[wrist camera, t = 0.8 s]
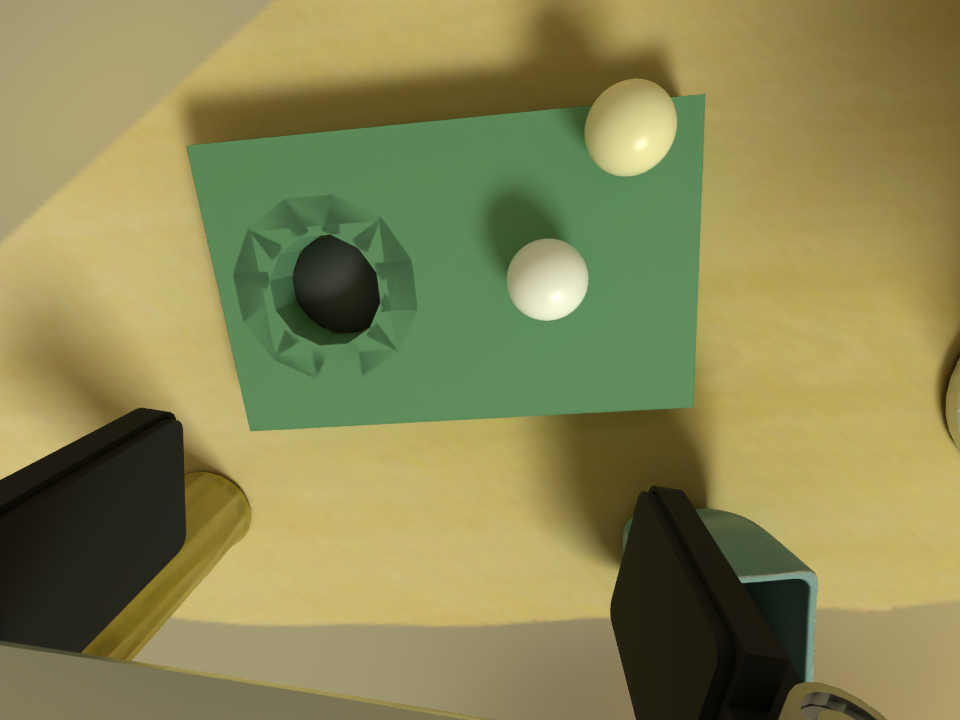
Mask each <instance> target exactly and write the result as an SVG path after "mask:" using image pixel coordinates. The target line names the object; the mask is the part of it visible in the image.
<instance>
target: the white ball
mask: <svg viewBox="0 0 960 720" xmlns="http://www.w3.org/2000/svg"><path fill="white" fill-rule="evenodd" d="M588 279H589V277H588V270H587V266H586V263H585V261H584V259H583V257H582V256H581V255H580V253H579V252H578V251H577V250H576V249H575V248H574V247H572V246H571V245H570V244H568V243H566V242H564V241H561V240H557V239H539V240H536V241H533V242H531V243H529V244H527V245H525V246H524V247H523V248H522V249H520V250H519V251H518V252H517V253H516V255H515V256H514V257H513V259H512V261H511V263H510V265H509V268H508V272H507V289H508V293H509V295H510V298H511V300H512V301H513V303H514V304H515V306H516V307H517V308H518V309H519V310H520V311H521V312H522V313H524V314H525V315H527V316H529V317H531V318H534V319H537V320H544V321H550V320H556V319H560V318H562V317H565V316H567V315H568V314H570V313H571V312H573V311H574V310H575V309H576V308H577V307H578V306H579V304H580V303H581V302H582V300H583V298H584V296H585V294H586V291H587V288H588Z"/></svg>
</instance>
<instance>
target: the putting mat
mask: <svg viewBox="0 0 960 720" xmlns="http://www.w3.org/2000/svg"><path fill="white" fill-rule="evenodd" d="M670 98H671V99H672V101H673V104H674V106H675V110H676V115H677V130H676V135H675V138H674V141H673V143H672V145H671V148H670V149H669V151H668V152H667V154H666V155H665V157H664V158H663V159H662V160H661V161H660V162H659V163H658V164H657V165H655V166H654V167H653V168H651V169H649V170H648V171H646V172H644V173H641V174H638V175H635V176H616V175H612V174H610V173H607V172H606V171H604V170H602V169H601V168H600V167H599V166H597V164H596V163H595V162H594V161H593V160H592V158H591V157H590V155H589V153H588V150H587V147H586V143H585V135H584V134H585V124H586V120H587V116H588V114H589V111H590V109H591V107H592V105H590V106H580V107H570V108H560V109H550V110H540V111H530V112H520V113H510V114H500V115H490V116H480V117H470V118H460V119H450V120H440V121H430V122H420V123H410V124H400V125H389V126H379V127H369V128H359V129H349V130H339V131H329V132H319V133H309V134H299V135H289V136H279V137H269V138H259V139H249V140H239V141H229V142H219V143H209V144H199V145H189V146H186V147H187V151H188V156H189V160H190V165H191V169H192V174H193V178H194V182H195V187H196V191H197V196H198V200H199V205H200V209H201V214H202V218H203V223H204V227H205V232H206V236H207V240H208V245H209V249H210V254H211V258H212V263H213V267H214V272H215V276H216V281H217V285H218V289H219V294H220V298H221V303H222V307H223V312H224V316H225V321H226V325H227V330H228V334H229V338H230V343H231V347H232V352H233V356H234V361H235V365H236V370H237V374H238V379H239V383H240V387H241V392H242V396H243V401H244V405H245V410H246V414H247V419H248V423H249V428H250V431H265V430H283V429H302V428H320V427H339V426H357V425H376V424H394V423H413V422H431V421H450V420H468V419H487V418H505V417H524V416H542V415H561V414H579V413H598V412H616V411H635V410H653V409H672V408H690V407H693V406H694V380H695V353H696V327H697V301H698V275H699V249H700V223H701V196H702V170H703V144H704V118H705V94H700V95H690V96H680V97H670ZM321 235H332V236H329V237H325V238H322V239H319V240H317V241H315V242H314V243H312V242H313V241H314V240H315V239H317V238H318V237H319V236H321ZM539 239H557V240H561V241H564V242H566V243H568V244H570V245H571V246H572V247H574V248H575V249H576V250H577V251H578V252H579V253H580V255H581V256H582V257H583V259H584V261H585V263H586V266H587V270H588V277H589V279H588V288H587V291H586V294H585V296H584V298H583V300H582V302H581V303H580V304H579V306H578V307H577V308H576V309H575V310H574V311H573V312H571V313H570V314H568V315H567V316H565V317H562V318H560V319H556V320H550V321H544V320H537V319H534V318H531V317H529V316H527V315H525V314H524V313H522V312H521V311H520V310H519V309H518V308H517V307H516V306H515V304H514V303H513V301H512V300H511V298H510V295H509V293H508V289H507V272H508V268H509V265H510V263H511V261H512V259H513V257H514V256H515V255H516V253H517V252H518V251H519V250H520V249H522V248H523V247H524V246H525V245H527V244H529V243H531V242H533V241H536V240H539ZM310 243H312V244H311V245H310V246H309V247H308V248H306V250H305V251H304V252H303V253H302V255H301V256H300V258H299V255H300V252H301V250H302V249H304V248H305V247H306V246H308V245H309V244H310ZM298 258H299V260H298ZM297 260H298V262H297ZM296 263H297V265H296ZM295 266H296V269H295ZM294 269H295V274H294V282H293V276H292V274H293V272H294ZM294 285H295V287H294ZM295 291H296V292H295ZM296 295H297V297H298V300H299V302H300V304H301V306H302V307H303V308H302V307H301V306H300V304H299V303H298V302H297V298H296ZM304 310H305V311H304ZM307 314H308V315H309V316H310V317H311V318H312V319H313V320H314V321H316V322H317V323H318V324H320V325H322V326H324V327H322V326H320V325H318V324H316V323H314V322H313V321H312V320H311V318H310V317H309V316H308V315H307ZM370 324H371V326H370V327H369V328H367V329H366V330H364V331H363V332H352V333H338V334H337V333H335V332H333V331H331V330H335V331H340V332H351V331H357V330H360V329H363V328H365V327H367V326H368V325H370ZM325 327H326V328H325ZM327 328H328V329H327ZM329 329H331V330H329Z"/></svg>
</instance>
